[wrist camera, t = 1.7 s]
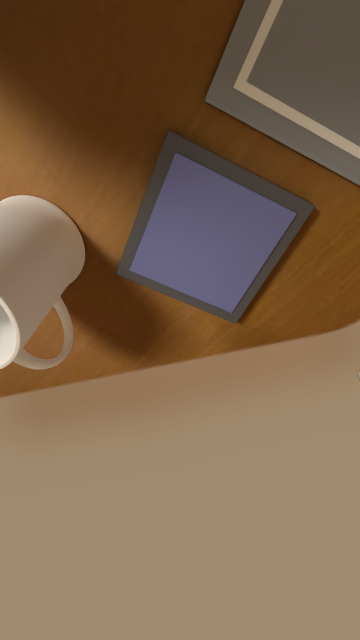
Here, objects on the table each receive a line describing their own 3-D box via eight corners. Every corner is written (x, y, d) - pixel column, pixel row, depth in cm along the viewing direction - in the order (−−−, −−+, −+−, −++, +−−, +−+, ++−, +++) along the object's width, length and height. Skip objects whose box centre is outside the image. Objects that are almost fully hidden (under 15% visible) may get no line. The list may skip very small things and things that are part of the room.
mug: (121, 298, 31) (83, 391, 21) (50, 324, 34) (-15, 419, 24) (46, 176, 25) (-55, 227, 15) (-34, 219, 28) (-166, 287, 18)
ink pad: (118, 269, 29) (115, 275, 28) (169, 129, 23) (167, 130, 22) (234, 317, 32) (235, 324, 31) (311, 202, 25) (316, 207, 24)
